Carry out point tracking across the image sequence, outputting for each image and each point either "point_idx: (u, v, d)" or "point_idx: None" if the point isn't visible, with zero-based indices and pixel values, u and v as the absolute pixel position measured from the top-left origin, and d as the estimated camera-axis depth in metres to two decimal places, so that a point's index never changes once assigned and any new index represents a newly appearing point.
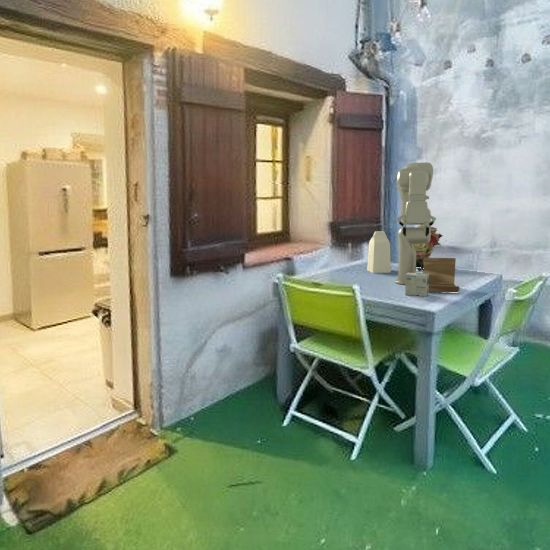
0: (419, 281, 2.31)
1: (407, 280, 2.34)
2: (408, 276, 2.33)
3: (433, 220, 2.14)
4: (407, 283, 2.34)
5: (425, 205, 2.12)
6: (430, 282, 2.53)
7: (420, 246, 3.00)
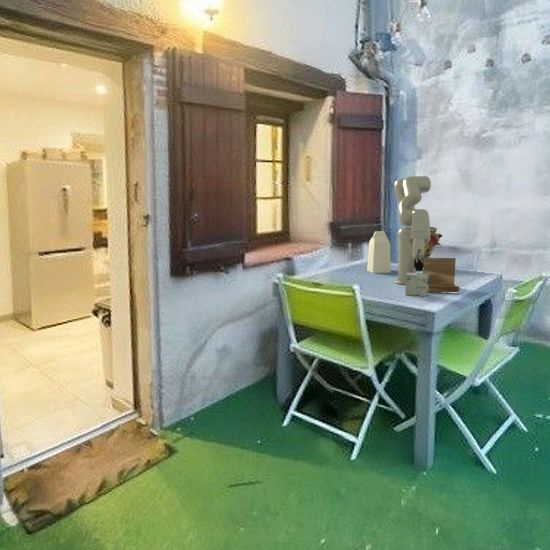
0: (419, 281, 2.31)
1: (407, 280, 2.34)
2: (408, 276, 2.33)
3: None
4: (407, 283, 2.34)
5: None
6: (430, 282, 2.53)
7: None
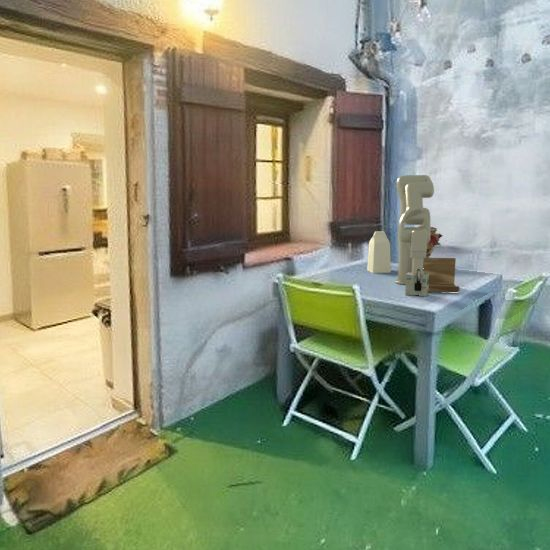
0: None
1: (407, 280, 2.34)
2: (408, 276, 2.33)
3: None
4: (407, 283, 2.34)
5: None
6: (430, 282, 2.53)
7: None
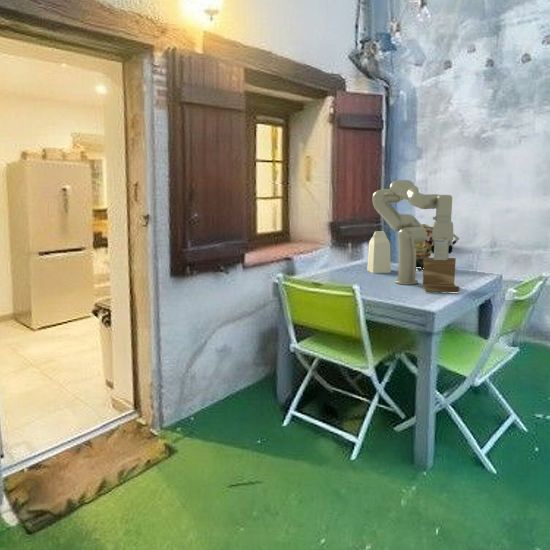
0: None
1: (447, 245, 2.37)
2: (448, 241, 2.37)
3: None
4: (447, 248, 2.37)
5: None
6: (430, 282, 2.53)
7: (420, 246, 3.00)
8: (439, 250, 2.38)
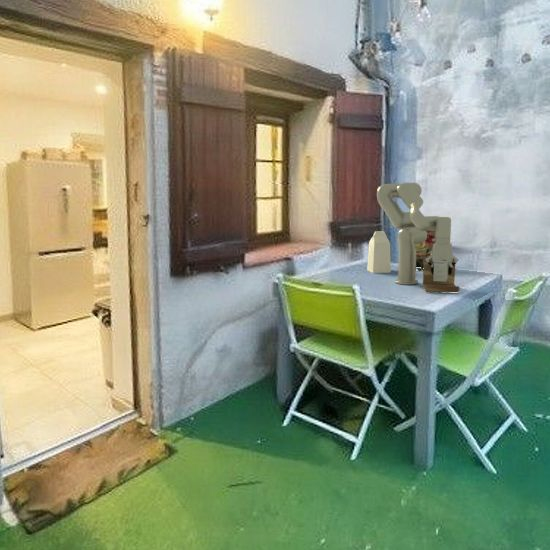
0: (448, 265, 2.44)
1: (447, 267, 2.39)
2: (447, 262, 2.39)
3: None
4: (447, 269, 2.39)
5: None
6: (430, 282, 2.53)
7: (420, 246, 3.00)
8: (439, 271, 2.40)
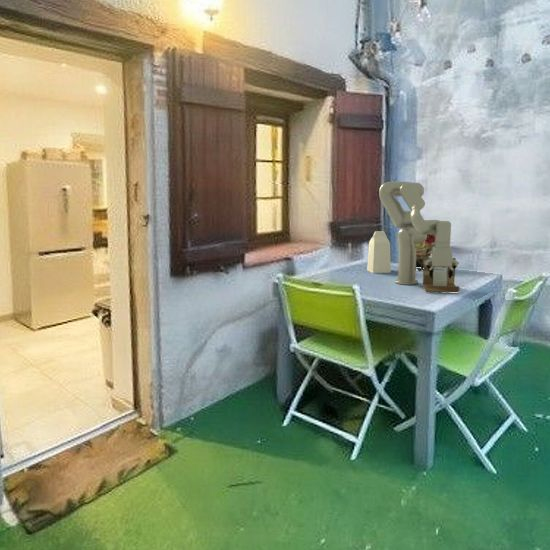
0: (447, 272, 2.45)
1: (446, 273, 2.39)
2: (447, 269, 2.39)
3: None
4: (446, 276, 2.40)
5: None
6: (430, 282, 2.53)
7: (420, 246, 3.00)
8: (438, 278, 2.41)
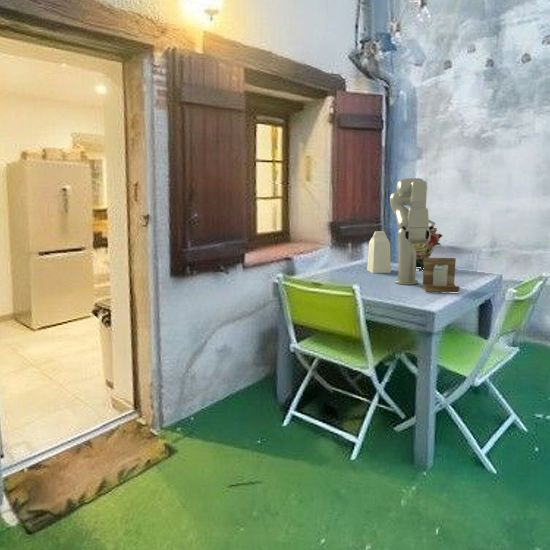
0: (447, 272, 2.45)
1: (446, 273, 2.40)
2: (447, 269, 2.39)
3: None
4: (446, 276, 2.40)
5: None
6: (430, 282, 2.53)
7: (420, 246, 3.00)
8: (438, 278, 2.41)
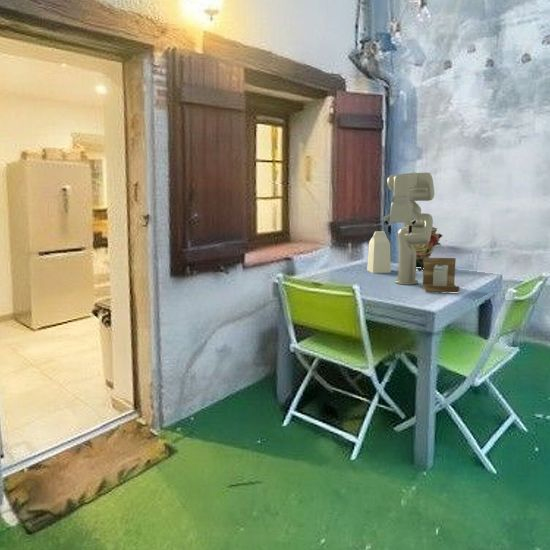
0: (447, 272, 2.45)
1: (446, 273, 2.39)
2: (447, 269, 2.39)
3: None
4: (446, 276, 2.40)
5: None
6: (430, 282, 2.53)
7: (420, 246, 3.00)
8: (438, 278, 2.41)
